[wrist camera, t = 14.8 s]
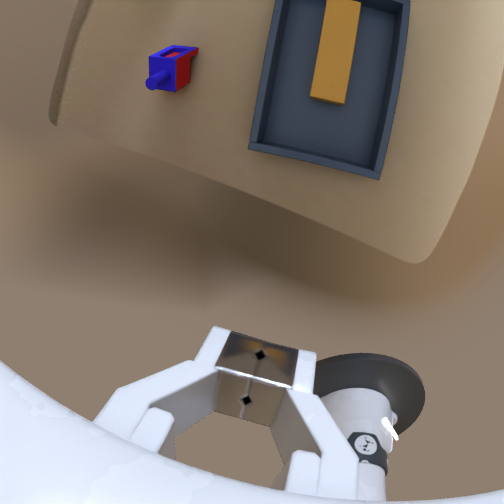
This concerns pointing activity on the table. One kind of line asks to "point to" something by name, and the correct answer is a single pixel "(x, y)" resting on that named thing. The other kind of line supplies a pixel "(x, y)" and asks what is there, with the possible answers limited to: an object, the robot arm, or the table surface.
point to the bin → (322, 113)
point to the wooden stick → (335, 51)
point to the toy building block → (170, 68)
